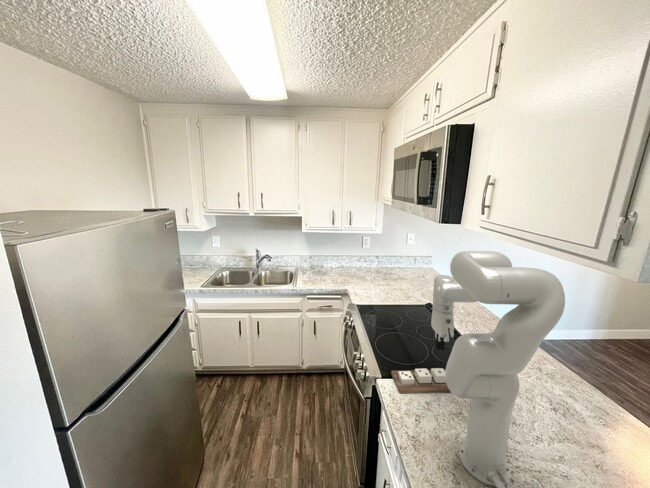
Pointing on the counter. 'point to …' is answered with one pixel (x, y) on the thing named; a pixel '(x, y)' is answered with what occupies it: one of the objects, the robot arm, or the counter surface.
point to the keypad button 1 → (438, 375)
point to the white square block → (405, 378)
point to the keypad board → (419, 388)
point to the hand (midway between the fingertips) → (439, 348)
